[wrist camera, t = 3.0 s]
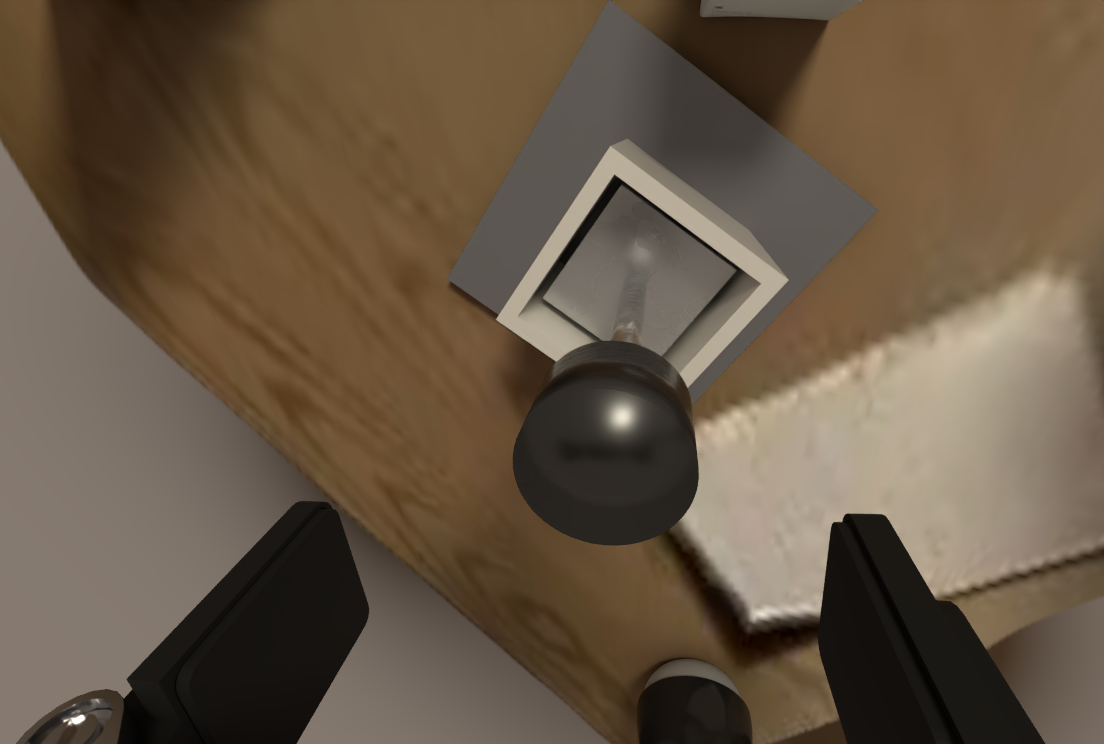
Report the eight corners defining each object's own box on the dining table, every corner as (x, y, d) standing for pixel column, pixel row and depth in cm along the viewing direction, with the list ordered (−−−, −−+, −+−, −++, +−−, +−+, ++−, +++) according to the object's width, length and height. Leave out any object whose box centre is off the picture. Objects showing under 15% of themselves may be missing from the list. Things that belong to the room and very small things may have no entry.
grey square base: (871, 207, 33) (985, 253, 22) (665, 423, 42) (666, 540, 30) (611, 3, 32) (579, -68, 20) (452, 274, 40) (365, 337, 29)
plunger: (734, 266, 27) (830, 459, 12) (647, 366, 30) (631, 624, 15) (622, 183, 26) (564, 268, 11) (545, 293, 30) (414, 483, 14)
